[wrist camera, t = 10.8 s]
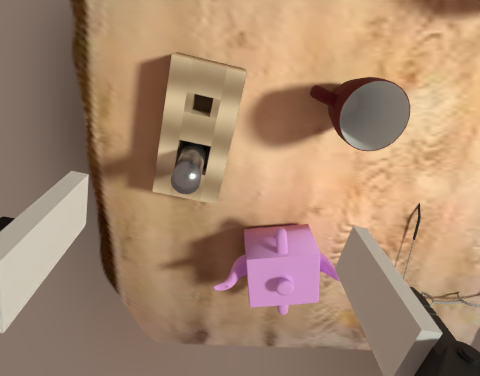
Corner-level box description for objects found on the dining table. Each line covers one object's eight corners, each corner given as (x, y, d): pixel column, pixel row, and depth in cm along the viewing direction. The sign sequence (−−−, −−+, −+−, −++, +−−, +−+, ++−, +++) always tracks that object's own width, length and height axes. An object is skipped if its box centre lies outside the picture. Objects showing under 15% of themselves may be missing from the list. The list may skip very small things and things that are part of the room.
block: (177, 52, 43) (171, 54, 39) (245, 69, 44) (246, 72, 40) (159, 177, 50) (152, 191, 46) (217, 189, 52) (216, 204, 47)
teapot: (269, 292, 60) (277, 342, 50) (214, 249, 56) (212, 294, 46) (335, 240, 56) (358, 284, 46) (282, 190, 52) (295, 226, 42)
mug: (293, 119, 48) (308, 139, 38) (310, 60, 44) (331, 66, 35) (362, 135, 49) (393, 157, 40) (384, 78, 46) (422, 88, 36)
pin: (186, 135, 47) (173, 164, 36) (208, 140, 47) (202, 170, 36) (182, 156, 48) (168, 191, 37) (204, 161, 49) (197, 196, 38)
